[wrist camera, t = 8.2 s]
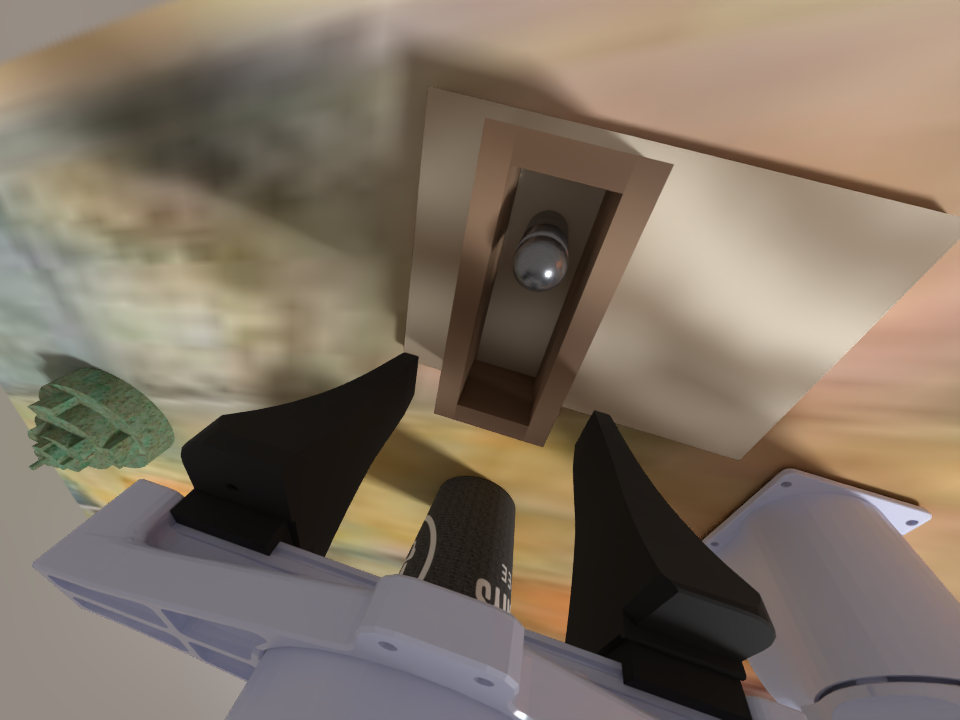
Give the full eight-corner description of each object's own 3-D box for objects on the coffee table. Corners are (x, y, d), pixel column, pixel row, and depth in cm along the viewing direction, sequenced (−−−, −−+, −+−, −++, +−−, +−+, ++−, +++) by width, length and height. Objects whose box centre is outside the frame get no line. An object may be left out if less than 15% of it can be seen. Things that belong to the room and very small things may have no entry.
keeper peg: (560, 258, 15) (556, 307, 11) (521, 247, 15) (501, 291, 11) (574, 216, 14) (577, 251, 10) (533, 205, 14) (516, 235, 10)
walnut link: (547, 396, 20) (543, 447, 16) (456, 368, 20) (433, 413, 17) (646, 158, 13) (674, 164, 9) (505, 123, 13) (484, 117, 10)
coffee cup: (475, 547, 32) (416, 804, 19) (399, 487, 29) (276, 739, 17) (559, 519, 27) (552, 839, 15) (477, 445, 24) (383, 754, 12)
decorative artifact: (136, 372, 29) (52, 362, 31) (29, 429, 23) (-67, 413, 25) (193, 454, 34) (118, 441, 36) (117, 517, 28) (33, 498, 31)
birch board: (732, 447, 20) (739, 460, 19) (409, 350, 21) (403, 358, 20) (950, 215, 13) (977, 221, 12) (436, 89, 14) (428, 85, 13)
